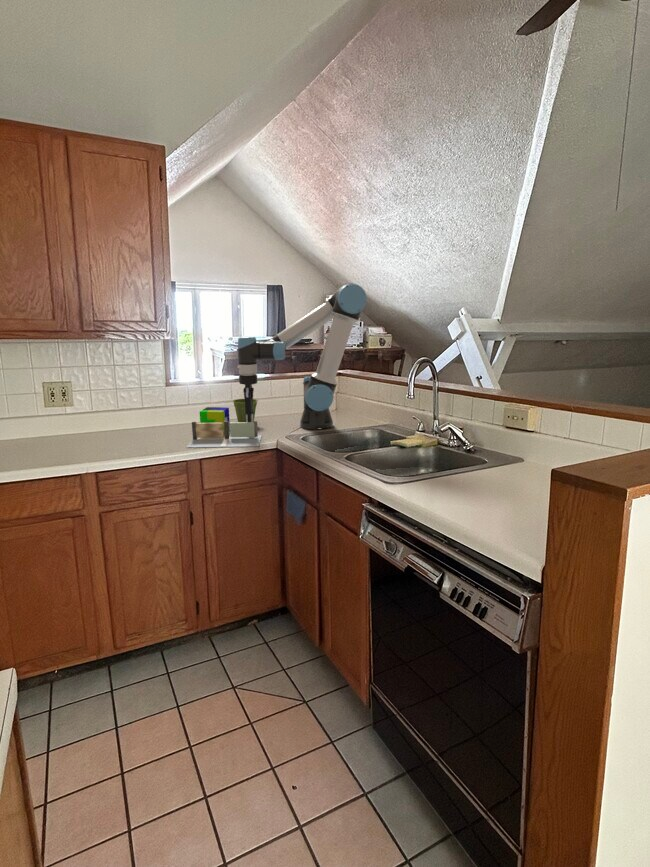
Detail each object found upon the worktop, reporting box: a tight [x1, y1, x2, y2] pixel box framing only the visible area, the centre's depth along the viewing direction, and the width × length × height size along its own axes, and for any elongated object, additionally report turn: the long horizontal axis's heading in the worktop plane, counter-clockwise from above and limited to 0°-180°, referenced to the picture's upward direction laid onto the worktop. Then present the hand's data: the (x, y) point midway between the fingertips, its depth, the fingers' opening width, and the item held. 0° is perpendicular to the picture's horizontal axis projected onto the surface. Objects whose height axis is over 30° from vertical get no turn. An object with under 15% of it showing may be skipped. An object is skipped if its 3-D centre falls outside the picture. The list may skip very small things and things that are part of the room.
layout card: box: [186, 434, 263, 449], centre depth 205 cm, size 28×18×1 cm, turn 93°
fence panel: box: [229, 420, 259, 437], centre depth 207 cm, size 11×1×6 cm, turn 93°
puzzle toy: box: [199, 406, 231, 435], centre depth 220 cm, size 10×10×10 cm
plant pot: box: [231, 398, 259, 422], centre depth 234 cm, size 12×12×11 cm
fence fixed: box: [191, 421, 230, 440], centre depth 207 cm, size 15×2×8 cm, turn 93°
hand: (249, 428), depth 215 cm, fingers closed
